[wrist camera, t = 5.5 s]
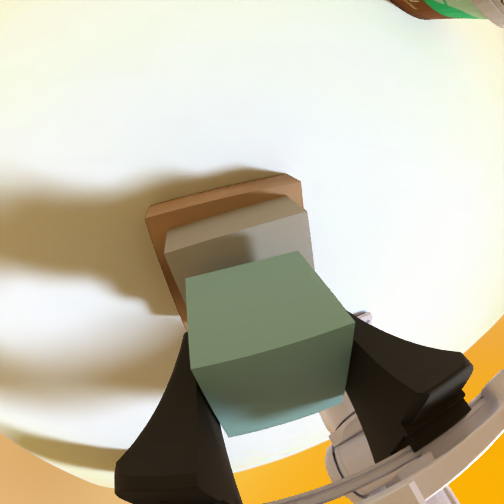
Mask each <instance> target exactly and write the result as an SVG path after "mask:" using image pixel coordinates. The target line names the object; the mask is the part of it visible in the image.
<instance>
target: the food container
mask: <svg viewBox="0 0 504 504" xmlns="http://www.w3.org/2000/svg"><path fill="white" fill-rule="evenodd" d="M390 1H392V2H393V3H394V4H395V5H396V6H398V7H399V8H400V9H401V10H403V11H404V12H406V13H408V14H409V15H411V16H413V17H416V18H419V19H424V20H430V19H451V18H471V19H489V20H490V21H491V22H493V23H494V24H495V25H497V26H499V27H501V28H504V0H390Z"/></svg>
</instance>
